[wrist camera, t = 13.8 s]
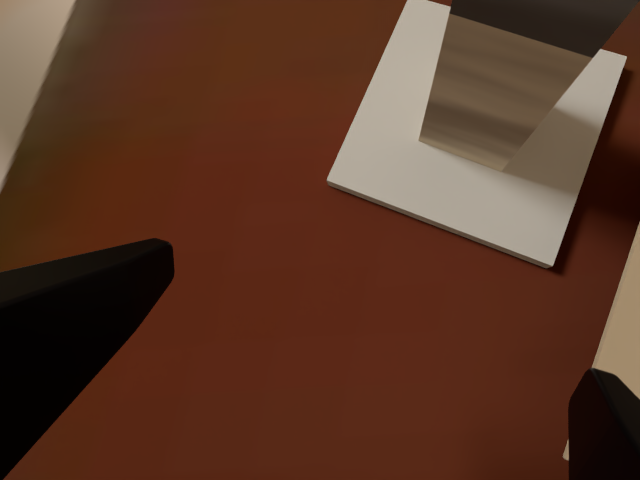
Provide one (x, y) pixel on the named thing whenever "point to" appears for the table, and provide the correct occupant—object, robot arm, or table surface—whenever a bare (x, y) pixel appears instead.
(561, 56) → the capped block
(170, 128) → the table surface
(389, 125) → the white square tile
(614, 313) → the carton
